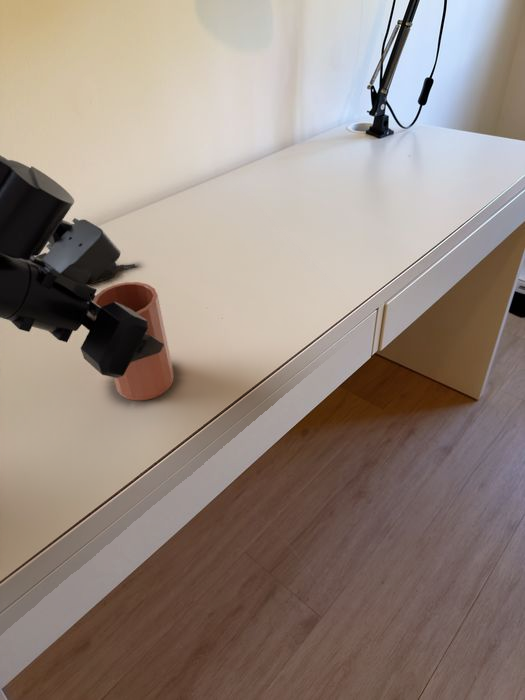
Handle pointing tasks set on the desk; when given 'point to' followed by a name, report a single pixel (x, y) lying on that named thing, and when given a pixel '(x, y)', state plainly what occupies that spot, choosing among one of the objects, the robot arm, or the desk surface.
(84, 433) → the desk surface
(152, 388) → the pen cup
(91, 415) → the desk surface
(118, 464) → the desk surface
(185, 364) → the desk surface
